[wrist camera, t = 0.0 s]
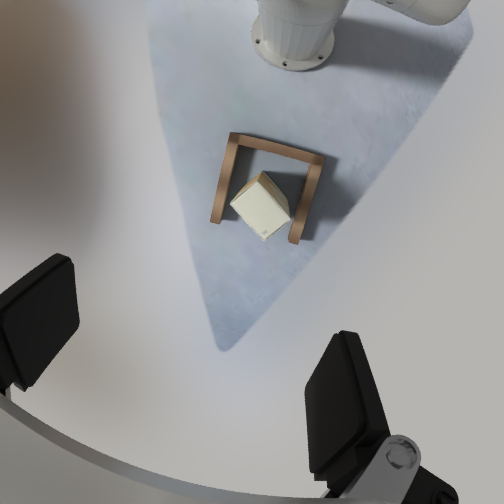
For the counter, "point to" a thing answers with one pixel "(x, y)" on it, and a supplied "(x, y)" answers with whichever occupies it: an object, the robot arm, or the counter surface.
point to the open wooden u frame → (276, 148)
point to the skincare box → (262, 206)
